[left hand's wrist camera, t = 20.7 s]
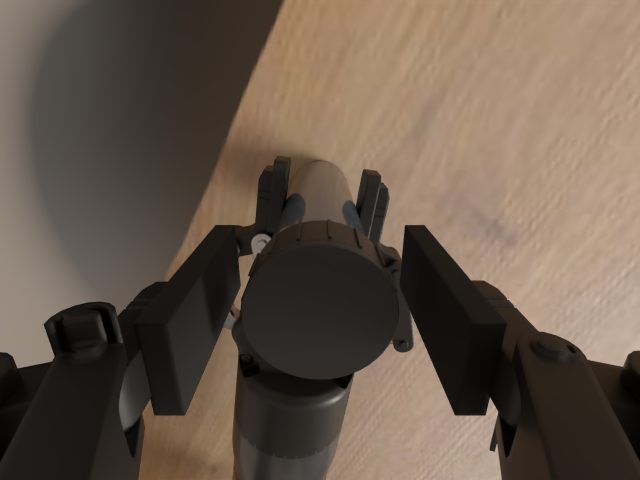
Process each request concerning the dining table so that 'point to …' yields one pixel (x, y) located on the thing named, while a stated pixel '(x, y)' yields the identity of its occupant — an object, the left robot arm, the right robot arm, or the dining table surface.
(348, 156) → the dining table surface
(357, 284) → the lid
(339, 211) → the jar
